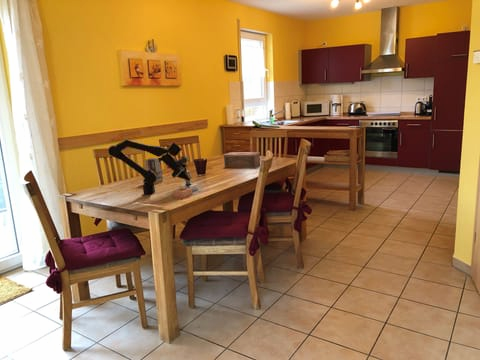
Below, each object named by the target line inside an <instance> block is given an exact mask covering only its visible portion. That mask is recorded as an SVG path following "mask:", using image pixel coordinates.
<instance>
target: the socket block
mask: <svg viewBox="0 0 480 360" xmlns="http://www.w3.org/2000/svg"><path fill="white" fill-rule="evenodd" d="M178 188H192V192H193V191H195V190H198V189H199V185H198V183H192V182H191V185H190V186H186V183H183V184H180V185H179V186H178Z"/></svg>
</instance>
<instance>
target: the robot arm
mask: <svg viewBox="0 0 480 360" xmlns="http://www.w3.org/2000/svg"><path fill="white" fill-rule="evenodd" d="M127 148H131V149H136V150H139V151H143V152H146V153H149V154H151V155H153V156H155V157H158V158H157V159H159V162H161V163H162V162H163V163H164V164H165V165H166V166H167V168H168V169H171V170H172V173H171V177H173V178H174V179H175V178H179V179H183V180H184V181H186V180H188V181H189V180H191V179H192V177H191V176H190V178H189V177H188V176H187V175H186V174H185V171H188V169H187V167H188V164H187V163H188V162H189V159H188V157H187V156H186V155H182V156H181V157H180V159H175V158H174V157H177V156H178V155H179V153H181V151H182V150H183V149H182V147H180V146H179V145H178V144H176V143H175V142H172V143H171V144H170V145H169V146H168V148H167V147H162V146H159V145H148V144H144V143H140V142H137V141H132V140H129V139H128V138H126V139H123V141H121V142H119V143H117V144H113V145H112V144H111V145H110V146H109V147H108V154H109V156H111V157H113V158H114V159H118V160H120V161H121V162H123V163H125V164H126V165H127V166H129V167H130V168H131V169H133V170H134V171H136V172H137V173H139V174H140V175H141V176H142V178H143V180H142V183H143V186H142V190H143V194H142V196H151V195H154V194H155V193H156V191H155V190H156V188H155V183H154V182H155V181H156V176H155V173H154V171H151V170H150V169H149V168H148V170H146V168H144V167H143V166H141V165H140V164H139V163H138V162H136V161H135V160H133V159H132V158H130V157H129V156H127V155H126V154H125V153H124V152H123V150H125V149H127Z"/></svg>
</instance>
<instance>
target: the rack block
mask: <svg viewBox="0 0 480 360" xmlns="http://www.w3.org/2000/svg"><path fill="white" fill-rule="evenodd" d="M172 193H173V197H182V198H185V197H187V196H190V195H192V194H193V192H192V188H179V187H178V188H176V189H173V190H172Z"/></svg>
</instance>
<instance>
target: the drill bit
mask: <svg viewBox="0 0 480 360" xmlns="http://www.w3.org/2000/svg"><path fill="white" fill-rule="evenodd" d="M185 174H186V175H187V176H188V177H189V178H190V177H191V171H190V170H187V171H185ZM191 183H192V182H191V179H190V180H189V181H188V180H185V184H186V186H190V185H191Z"/></svg>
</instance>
